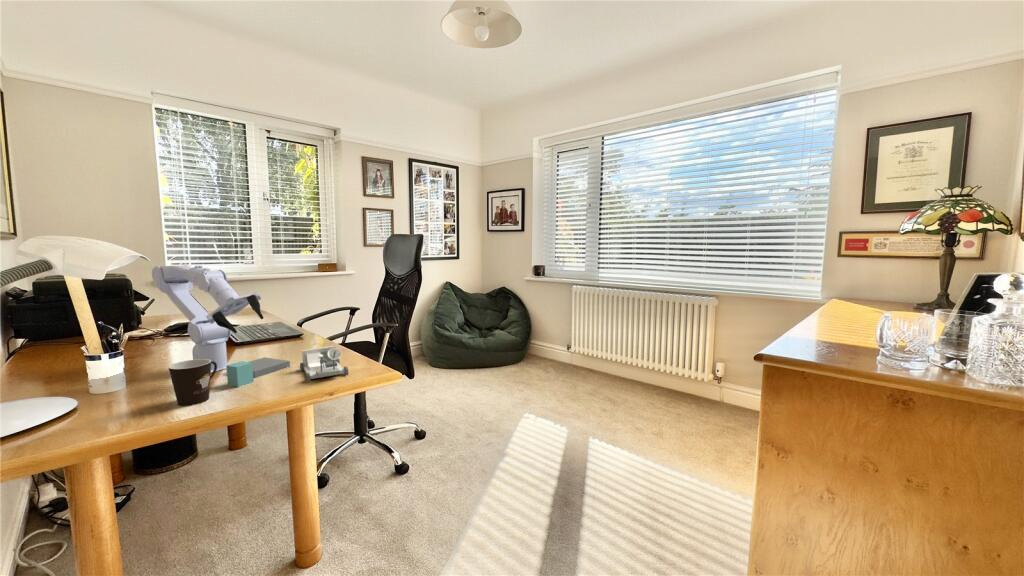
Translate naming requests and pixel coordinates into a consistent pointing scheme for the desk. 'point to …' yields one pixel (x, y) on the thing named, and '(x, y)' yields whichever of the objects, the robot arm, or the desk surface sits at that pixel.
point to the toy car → (322, 362)
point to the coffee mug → (192, 380)
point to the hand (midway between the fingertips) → (248, 323)
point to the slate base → (267, 366)
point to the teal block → (239, 373)
